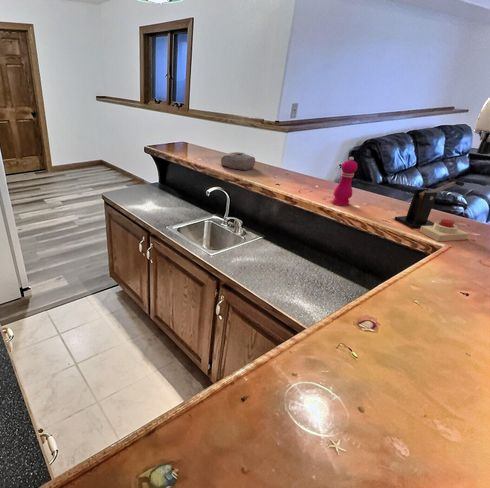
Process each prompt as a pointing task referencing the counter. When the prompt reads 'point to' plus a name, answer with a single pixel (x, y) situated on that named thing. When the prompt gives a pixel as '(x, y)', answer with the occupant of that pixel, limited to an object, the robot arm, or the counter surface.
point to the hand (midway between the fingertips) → (482, 153)
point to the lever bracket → (419, 210)
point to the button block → (443, 232)
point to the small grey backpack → (238, 161)
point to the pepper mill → (345, 183)
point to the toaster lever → (443, 187)
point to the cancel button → (446, 223)
